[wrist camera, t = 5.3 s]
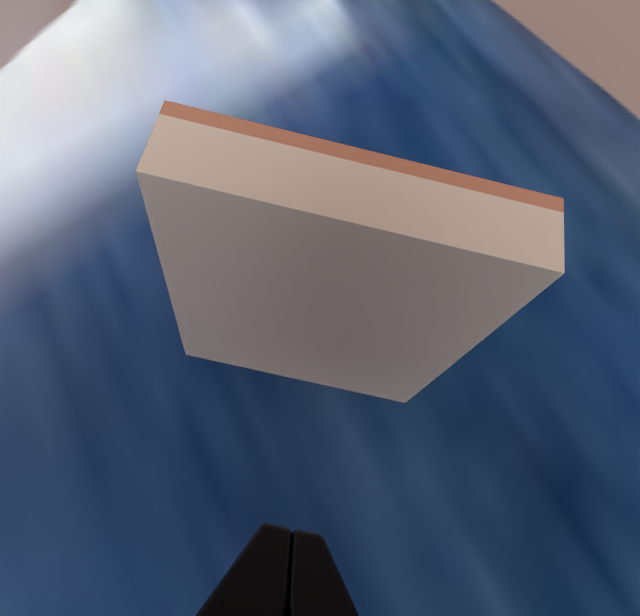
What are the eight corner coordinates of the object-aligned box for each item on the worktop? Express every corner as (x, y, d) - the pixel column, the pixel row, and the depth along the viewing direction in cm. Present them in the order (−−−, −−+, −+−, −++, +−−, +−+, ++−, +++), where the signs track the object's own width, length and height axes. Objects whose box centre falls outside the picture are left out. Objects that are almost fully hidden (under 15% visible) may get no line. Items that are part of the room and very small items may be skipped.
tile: (405, 403, 17) (564, 273, 9) (185, 354, 16) (135, 170, 8) (410, 358, 17) (563, 198, 9) (198, 311, 17) (164, 100, 9)
